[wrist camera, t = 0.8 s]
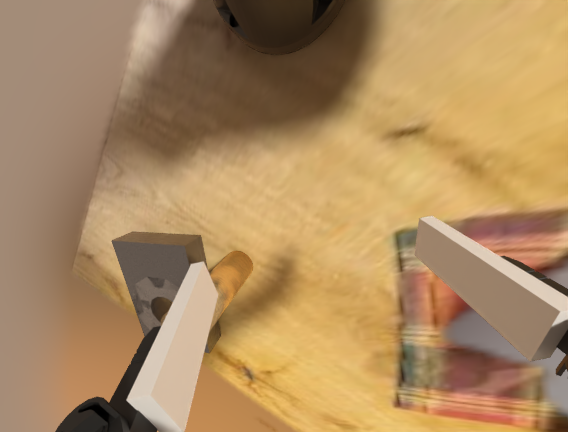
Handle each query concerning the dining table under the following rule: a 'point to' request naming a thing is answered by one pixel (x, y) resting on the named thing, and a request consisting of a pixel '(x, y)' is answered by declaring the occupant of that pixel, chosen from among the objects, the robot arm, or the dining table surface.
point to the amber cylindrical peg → (228, 280)
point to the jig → (158, 273)
